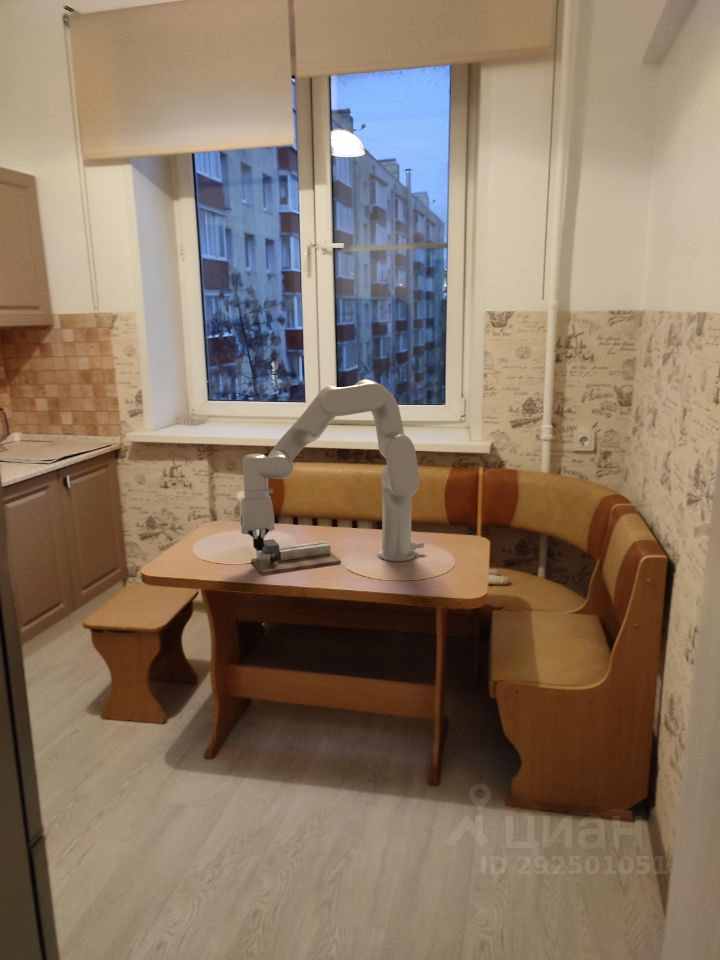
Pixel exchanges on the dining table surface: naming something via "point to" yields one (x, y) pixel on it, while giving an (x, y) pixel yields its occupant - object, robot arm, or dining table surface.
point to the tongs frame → (265, 557)
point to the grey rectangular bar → (302, 552)
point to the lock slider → (270, 546)
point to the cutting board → (295, 563)
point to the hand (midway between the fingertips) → (258, 549)
